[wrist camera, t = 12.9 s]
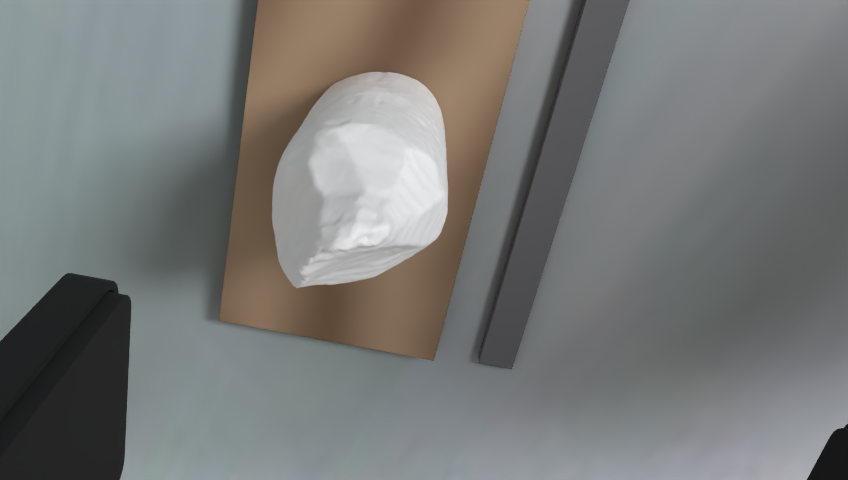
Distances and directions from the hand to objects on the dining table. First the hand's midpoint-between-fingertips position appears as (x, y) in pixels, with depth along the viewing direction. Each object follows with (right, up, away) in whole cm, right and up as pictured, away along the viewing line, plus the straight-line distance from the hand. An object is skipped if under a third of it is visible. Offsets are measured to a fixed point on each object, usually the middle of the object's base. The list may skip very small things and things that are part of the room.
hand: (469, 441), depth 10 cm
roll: (-3, +7, +21) cm, 23 cm away
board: (-3, +7, +22) cm, 23 cm away
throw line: (+5, +6, +23) cm, 24 cm away
